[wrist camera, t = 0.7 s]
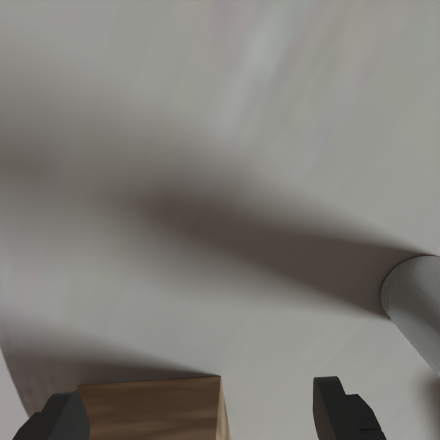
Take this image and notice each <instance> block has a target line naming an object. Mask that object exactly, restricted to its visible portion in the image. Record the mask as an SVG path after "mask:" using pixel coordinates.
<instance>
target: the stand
mask: <svg viewBox="0 0 440 440" xmlns="http://www.w3.org/2000/svg"><path fill="white" fill-rule="evenodd" d="M75 392H78V393H79V394H80V396H81V399H82V402H83V404H84V407H85V410H86V412H87V415H88V418H89V420H90V435H89V439H88V440H231V437H230V431H229V424H228V418H227V412H226V406H225V400H224V394H223V387H222V381H221V376H215V377H200V378H184V379H169V380H153V381H138V382H122V383H107V384H92V385H79V386H78V388H77V389H76V391H75Z"/></svg>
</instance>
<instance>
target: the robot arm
mask: <svg viewBox="0 0 440 440" xmlns="http://www.w3.org/2000/svg"><path fill="white" fill-rule="evenodd" d="M380 299H381V304H382V307H383V309H384V311H385V313H386V314H387V315H388V316H389V317H390V319H391V320H392V321H393V322H394V323H395V325H396V326H397V327H398V328H399V329H400V331H401V332H402V333H403V334H404V336H405V337H406V338H407V339H408V341H409V342H410V343H411V344H412V345H413V347H414V348H415V349H416V350H417V351H418V353H419V354H420V355H421V356H422V357H423V359H424V360H425V361H426V362H427V363H428V365H429V366H430V367H431V368H432V369H433V371H434V372H435V373H436V374H437V375H438V377H439V378H440V257H436V256H420V257H415V258H412V259H409V260H406V261H405V262H403V263H401V264H399V265H398V266H397V267H395V268H394V269H393V270H392V271H391V272H390V273H389V274H388V276H387V277H386V279H385V281H384V283H383V285H382V288H381V295H380ZM313 416H314V422H315V427H316V431H317V435H318V438H319V440H387V439H386V437H385V435H384V433H383V432H382V431H381V427H380V425H379V423H378V421H377V419H376V417H375V414H374V412H373V410H372V409H371V408H370V407H369V406H368V404H367V403H366V402H365V401H364V400H363V399H362V398H361V397H360V396H359V395H358V394H352V395H346V394H345V392H344V389H343V387H342V384H341V382H340V380H339V378H338V377H337V376H332V377H315V378H314V380H313ZM89 435H90V420H89V418H88V415H87V412H86V410H85V407H84V404H83V402H82V399H81V396H80V394H79V393H78V392H68V393H55V394H53V395H52V396H51V397H50V398H49V400H48V401H47V403H46V405H45V406H44V408H43V410H42V411H41V412H36V413H34V414H33V415H32V417H31V418H30V419H29V420H28V421H27V422H26V423H25V424H24V425H23V426H22V427H21V428H20V429H19V430H18V432H17V433H16V435H15V436H14V438H13V440H88V439H89Z"/></svg>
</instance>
